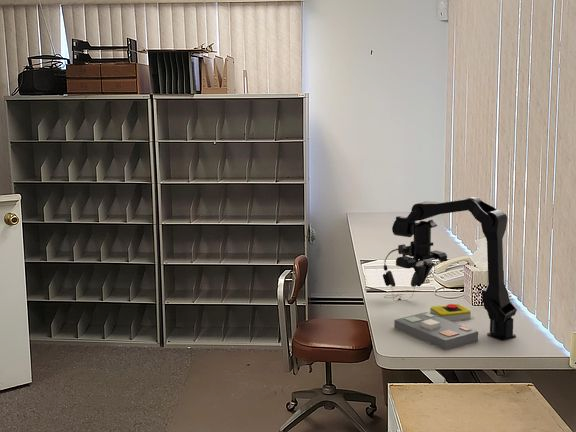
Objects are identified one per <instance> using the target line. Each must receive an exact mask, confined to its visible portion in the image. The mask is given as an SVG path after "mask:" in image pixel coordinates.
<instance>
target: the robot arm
mask: <svg viewBox="0 0 576 432" xmlns="http://www.w3.org/2000/svg"><path fill="white" fill-rule="evenodd" d="M465 211H468V212H470V214H471V215H472V216H473V218H474V219H475V220H476V221H477V222H479V223H480V225H481V230H482V233H483V236H484V238H485V239H486V250H487V251H486V253H487V255H486V256H487V282H488V283H487V287H486V288H483V289H482V290H481V297H482V300H481V304H483V308H484V310H486V312H487V315H488V318H489V332H487V333H486V335H487V336H489V337H491V338H495V339H498V340H499V341H506V340H509V339H513V338H516V337H517V335H516V334H514V316H515V315H516V313H517V308H516V307H515V306H514V305H513V303H512V302H511V301H510V296H509V291H508V289H507V287H506V285H505V280H504V276H505V275H504V252H503V251H504V248H503V247H504V245H503V242H504V241H503V239H504V236H505V233H506V230H507V224H508V215H507V214H506V213H505V212H504V211H503V210H501V209H497V208H496V207H495V206H494V205H491V204H489V203H487V202H485V201H484V200H482V199H481V198H480V197H478V196H472V197H469V198H468V197H467V198H463V199H456V200H449V201H443V202H439V201H428V200H427V201H423V202H419V203H414V204H413V205H412V207H411V212H410V213H409V214H408V215H407V217H405V216H402V215H397V216H396V217H395V220H394V221H393V224H392V226H391V227H392V228H391V231H392V234H393V235H394V236H398V237H405V238H412V237H413V240H412V241H410V244H409V245H406V244H405V243H404V244H403V243H402V244H399V245H398V244H397V245H398V247H397V249H398V250H397V253H398V255H402V256H397V258H396V259H395V266H396V267H400V268H404V269H412V268H413V270H414V272H416V275H417V278H418V281H419V283H420V284H422V285H424V283H425V281H426V279H427V277H428V275H429V274H430V272H431V271H432V269H433V268H434V267H435V266H436V264H435V263H433V261H434V260H438V261H439V262H441V263H442V262H443V263H445V262H448V254H447V253H446V252H444V251H440V250H432V249H431V248H432V246H434V242H432V228H436V227H438V224H437V223H436V222H435V221H434V220H433V219H430V218H433V217H435V216H439V215H444V214H450V213H457V212H459V213H460V212H465ZM427 219H428V221H427ZM418 221H419V222H418Z"/></svg>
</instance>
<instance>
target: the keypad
mask: <svg viewBox="0 0 576 432" xmlns="http://www.w3.org/2000/svg"><path fill="white" fill-rule="evenodd" d="M412 316H415V317H418V318H420V319H423V321H425V320H429V319H432V320H435V321H437V322H440V328H436V329H433V330H429V329H426V328H424V327H421V321H420V322H416V323H411V322H409V321H406V320H404V318H408V317H412ZM393 324H394V326H393V327H394V328H393V329H395V330H398V331H400V332H402V333H404V334H406V335H409V336H411V337H414V338H416V339H419V340H421V341H423V342H425V343H427V344H430V345H432V346H435V347H436V348H440V349H442V350H444V351H446V350H450V349H454V348H457V347H461V346H463V345H467V344H471V343H474V342H477V341H479V331H478V330H476V329H473V328H470V327H468V326H466V325H462V324H460V323H457V322H455V321H449V320H446V319H444V318H441V317H438V316H436V315H433V314H430V312H427V311H425V312H420V313H416V314H412V315H409V316H403V317H399V318H396V319H394V323H393ZM446 330H451V331H454V332H456V333H459V335H456V336H453V337H446V336H444V335H441V334H439V332H442V331H446Z"/></svg>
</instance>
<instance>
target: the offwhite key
mask: <svg viewBox="0 0 576 432" xmlns="http://www.w3.org/2000/svg"><path fill="white" fill-rule="evenodd" d="M421 327H424V328H426V329H429V330H433V329H436V328H440V322H437V321H435V320H432V319H429V320H425V321H421Z"/></svg>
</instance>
